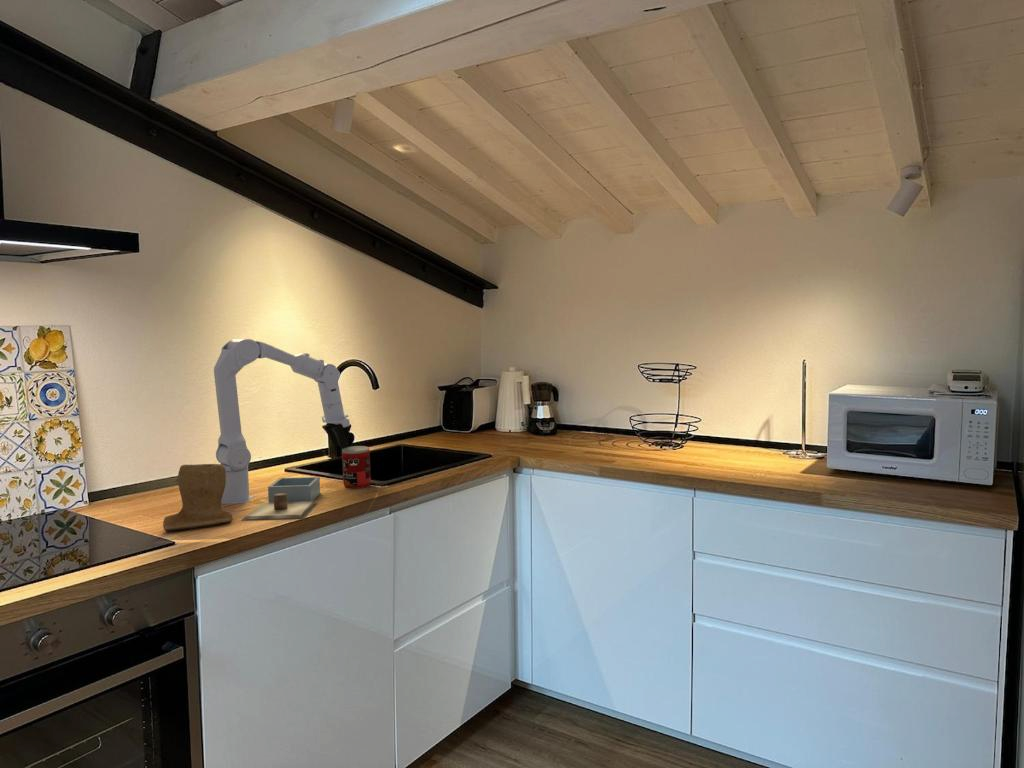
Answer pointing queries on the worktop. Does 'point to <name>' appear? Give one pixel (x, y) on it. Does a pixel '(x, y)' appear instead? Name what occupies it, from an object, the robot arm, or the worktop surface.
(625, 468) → the worktop surface
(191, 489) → the brown flared stand
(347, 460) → the canned food
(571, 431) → the worktop surface
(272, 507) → the birch lid
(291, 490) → the gray lidded box
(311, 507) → the rubber mat
